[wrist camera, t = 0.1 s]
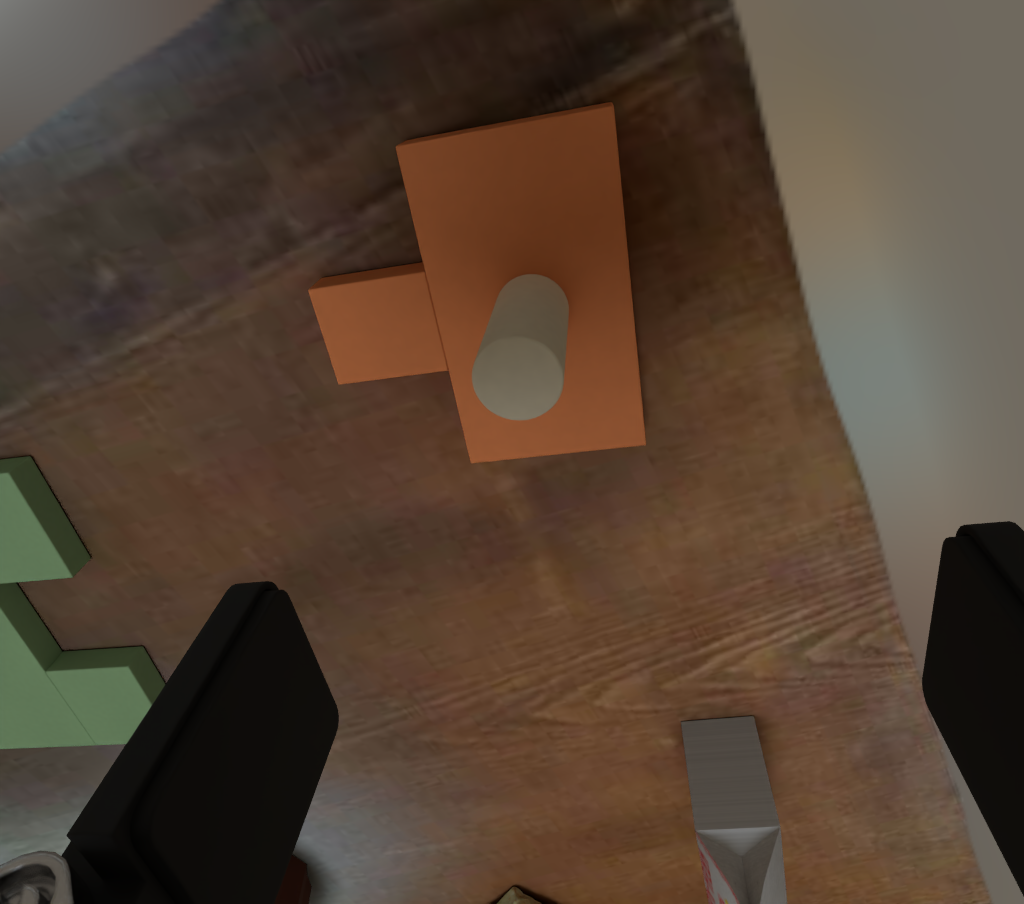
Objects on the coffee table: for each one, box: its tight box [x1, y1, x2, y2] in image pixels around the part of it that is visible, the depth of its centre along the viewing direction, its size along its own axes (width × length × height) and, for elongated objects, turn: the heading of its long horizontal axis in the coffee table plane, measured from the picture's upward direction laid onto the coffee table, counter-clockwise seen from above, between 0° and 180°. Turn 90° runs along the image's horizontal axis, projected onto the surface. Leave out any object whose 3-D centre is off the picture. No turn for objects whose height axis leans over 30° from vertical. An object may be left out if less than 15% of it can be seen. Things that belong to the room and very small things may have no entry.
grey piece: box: [681, 716, 787, 904], centre depth 34 cm, size 4×7×10 cm, turn 14°
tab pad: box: [308, 102, 646, 463], centre depth 23 cm, size 12×11×8 cm
